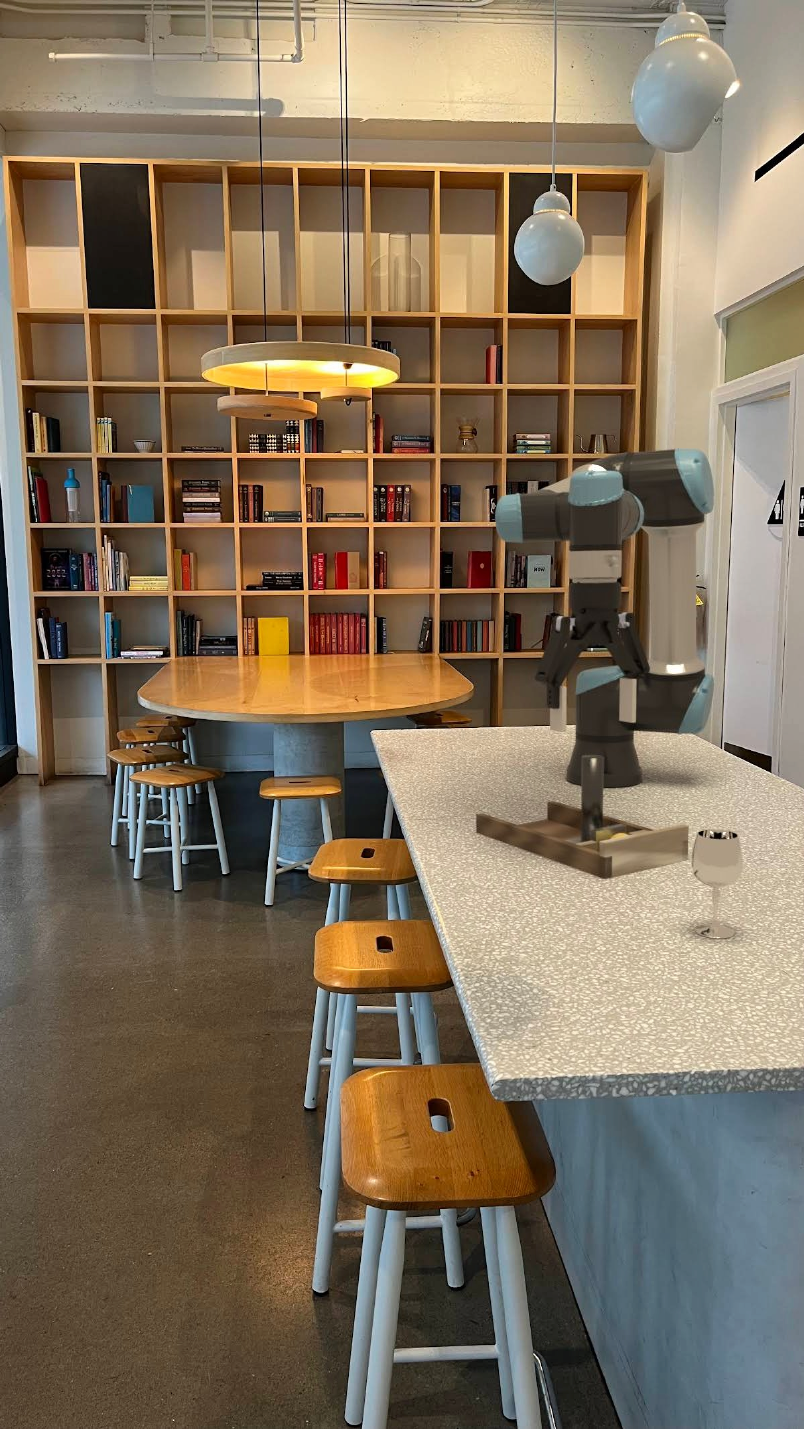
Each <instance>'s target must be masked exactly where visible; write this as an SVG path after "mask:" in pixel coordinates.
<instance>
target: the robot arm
mask: <svg viewBox="0 0 804 1429" xmlns="http://www.w3.org/2000/svg"><path fill="white" fill-rule="evenodd" d="M714 498H715V488H714V480H713V474H712V469H711V466H710V462H709V460H708V457H707V456H706V454H705V453H704V451H702V450H700V449H697V448H673V449H672V448H671V449H660V450H648V451H647V450H646V451H638V452H637V451H635V452H630V451H629V452H627V451H626V452H621V453H615V454H610V455H608V456H605V457H601V458H599V459H596V460H593V461H590V462H588V463H585V464H584V465H581V466H578V467H577V468H575V469H574V470H573V471H572V472H571V473H570V474H569V475H568V477H566V478H565V479H562V480H560V481H558V482H555V483H552V484H550V485H548V486H545V487H543V488H541V489H539V490H534V491H533V492H529V493H519V492H517V493H515V494H514V493H513V494H506V495H503V496H501V497H500V498H499V500H498V502H497V504H496V508H495V514H494V516H495V518H494V519H495V520H494V521H495V527H496V533H497V534H498V536H499V538H500V539H501V540H502V541H504V542H506V543H520V544H523V543H536V542H537V543H538V542H539V543H541V542H560V541H561V542H568V545H569V546H568V578H569V579H570V580H572V582H571V583H569V585H568V606H569V609H571V610H570V611H571V613H570V614H571V615H570V616H564V615H563V616H562V615H555V616H553V619H552V628H551V632H550V633H551V634H550V636H549V639H548V641H547V645H546V646H545V650H544V652H543V654H542V657H541V660H540V661H539V662H540V663H539V665H538V668H537V670H536V673H535V676H534V680H535V681H536V682H537V683H541V684H542V685H543V686H546V706H547V708H548V709H549V730H550V731H555V732H559V733H566V732H567V686H565V685H562V684H563V683H564V681H565V680H566V678H567V676H568V675H569V673H570V672H571V670H572V669H573V667H574V666H575V664H576V662H577V660H578V659H579V657H580V656H581V654H582V652H583V651H585V650H586V649H587V648H588V647H596V646H604V647H605V648H606V649H607V651H608V652H609V654H610V656H611V657H612V658H613V660H614V662H615V663H616V664H617V665H608V666H601V667H596V668H590V669H586V670H582V671H581V672H579V674H578V675H577V677H576V684H575V685H576V686H575V692H574V695H575V742H574V746H573V750H572V753H571V756H570V759H569V760H570V761H569V764H568V765H567V766H566V780H567V782H570V783H572V784H575V785H580V786H581V784H582V756H584V755H600V756H603V757H604V774H603V788H622V787H628V786H634V785H638V784H640V783H642V782H643V769H642V766H640V763H639V762H640V761H639V757H638V754H637V753H638V752H637V750H636V747H635V740H634V739H635V736H634V734H635V732H646V733H647V732H649V733H665V734H666V733H668V734H677V735H682V734H685V735H686V734H687V735H688V734H689V735H690V734H691V735H693V734H694V735H695V734H699V733H702V731H704V729H705V728H706V726H707V723H708V720H709V717H710V713H711V709H712V704H713V699H714V698H713V697H714V692H715V689H714V688H715V683H714V682H715V678H714V676H713V675H711V674H709V673H706V665H705V662H703V661H702V660H701V659H700V658H698V655H697V649H698V648H697V647H698V646H697V531H699V530H700V528H702V526H703V525H704V524H705V515H708V514H711V512H712V511H713V510H714V504H715V500H714ZM640 529H642V530H643V531H644V532H645V533H647V535H648V566H649V568H648V571H649V573H648V574H649V575H648V577H649V579H648V580H649V581H648V583H649V621H650V622H649V626H650V628H649V629H650V630H649V632H650V633H649V634H650V638H649V639H650V658H649V659H648V658H647V655H646V652H645V650H644V647H643V644H642V642H641V641H642V640H641V639H640V636H639V633H638V631H637V628H636V615H635V613H634V612H624V611H623V612H622V611H621V612H619V611H618V609H619V608H620V607H621V606H622V584H621V582H618V579H620V578H621V577H622V559H623V558H622V555H623V554H622V553H623V552H622V550H623V545H622V544H623V542H622V541H624V540H628V538H629V539H630V538H631V537H633V536H634V535H636V534H637V532H639V530H640ZM617 628H618V630H617ZM618 631H619V632H618ZM570 632H571V633H570Z"/></svg>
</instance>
